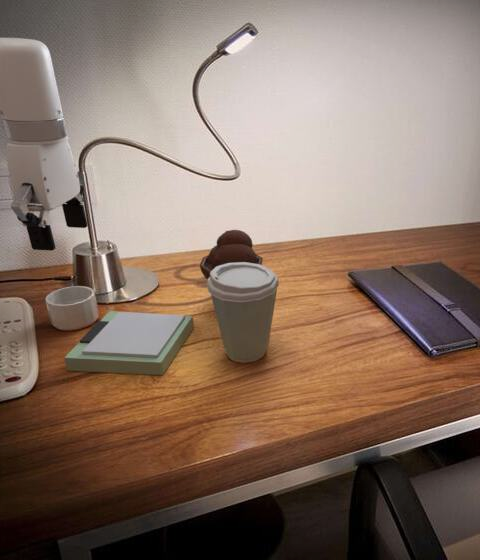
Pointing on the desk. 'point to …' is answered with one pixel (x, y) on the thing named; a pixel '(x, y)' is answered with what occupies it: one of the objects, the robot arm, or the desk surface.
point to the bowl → (72, 307)
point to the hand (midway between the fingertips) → (61, 237)
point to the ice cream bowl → (230, 251)
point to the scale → (131, 343)
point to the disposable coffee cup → (243, 307)
